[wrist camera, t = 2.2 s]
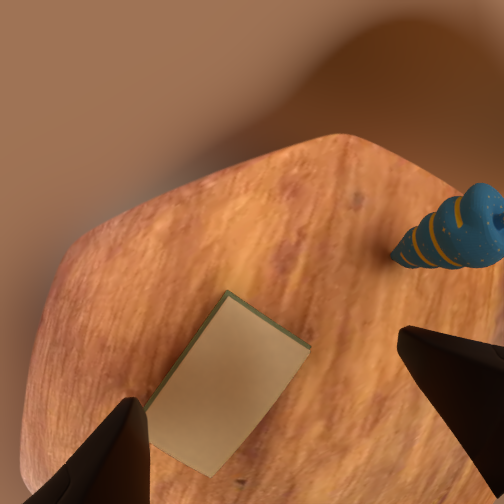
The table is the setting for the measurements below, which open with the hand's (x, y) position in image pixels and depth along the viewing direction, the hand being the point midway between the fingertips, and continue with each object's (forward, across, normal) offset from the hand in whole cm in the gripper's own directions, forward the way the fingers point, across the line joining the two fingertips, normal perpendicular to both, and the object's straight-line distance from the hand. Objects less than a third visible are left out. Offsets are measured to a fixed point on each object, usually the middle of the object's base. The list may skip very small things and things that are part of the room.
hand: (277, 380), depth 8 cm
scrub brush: (+11, +3, +10) cm, 15 cm away
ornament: (+15, -15, +4) cm, 21 cm away
